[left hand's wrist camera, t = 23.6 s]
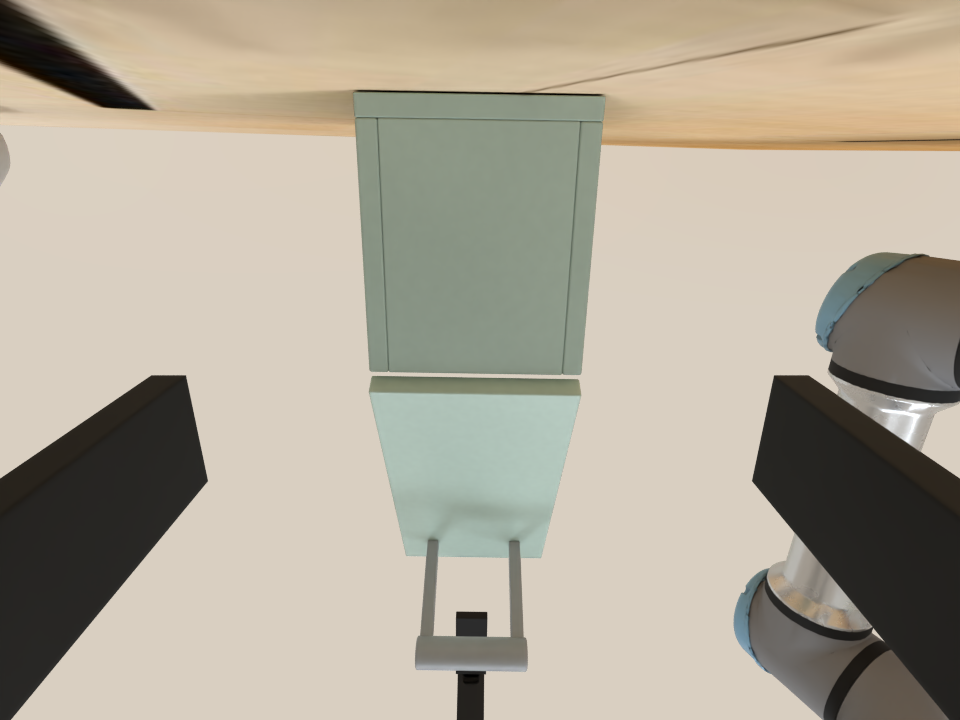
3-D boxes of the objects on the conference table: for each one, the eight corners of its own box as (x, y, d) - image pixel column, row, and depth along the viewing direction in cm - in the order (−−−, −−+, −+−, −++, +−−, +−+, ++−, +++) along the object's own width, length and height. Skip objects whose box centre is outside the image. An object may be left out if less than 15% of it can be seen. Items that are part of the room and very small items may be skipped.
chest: (549, 124, 36) (540, 286, 40) (411, 121, 36) (415, 284, 40) (605, 96, 20) (581, 375, 24) (352, 91, 20) (369, 372, 24)
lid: (540, 545, 38) (549, 681, 32) (407, 543, 38) (393, 679, 32) (579, 378, 24) (605, 565, 19) (371, 375, 24) (336, 561, 19)
